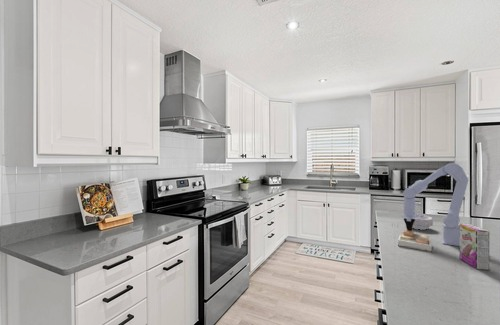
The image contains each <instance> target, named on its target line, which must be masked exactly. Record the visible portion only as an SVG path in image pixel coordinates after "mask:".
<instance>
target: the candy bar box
mask: <svg viewBox="0 0 500 325" xmlns="http://www.w3.org/2000/svg"><path fill="white" fill-rule="evenodd" d="M459 225H460V246H459V259H460V260H461V261H462V262H464V263H466V264H467V265H469V266H471V267H472V268H474V269H476V270H479V271H481V270H482V271H483V270H484V271H490V230H487V229H484V228H482V227H479V226H477V225H474V224H471V223H459Z"/></svg>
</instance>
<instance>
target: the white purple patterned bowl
mask: <svg viewBox="0 0 500 325" xmlns="http://www.w3.org/2000/svg"><path fill="white" fill-rule="evenodd" d="M413 219H415V222H414V223H413V226H412V229H413V228H414V229H413V230H418V229H420V230H421V231H427V230H429V228H430V227H433V226H434V225H433V224H434V222H433V217H431V216H428V215H424V214H423V215H422V214H415V218H413ZM426 229H427V230H426Z"/></svg>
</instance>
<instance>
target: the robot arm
mask: <svg viewBox="0 0 500 325" xmlns="http://www.w3.org/2000/svg"><path fill="white" fill-rule="evenodd" d="M447 175H449V176H451V177H452V178H453V179H454V180H455V181H456V183H455V186H454V191H453V194H452V197H451V201H450V205H449V209H448V211H447V214H446V215H445V217H444V218H443V225H442V227H443V228H442V229H443V230H442V239H441V242H442V244H444V245H451V246H457V247H460V227H459V225H460V221H461V220H460V213H461V208H462V205H463V201H464V198H465V194H466V190H467V186H468V182H469V178H468V176H467V174H466V172H465V170H464V169H463V167H462V166H460V165H459V164H458V163H456V162H455V163H454V162H449V163H447V164H446V165H445V166H444V165H443V166H441V167H439V168H438V169H437V170H434V172H432V173H431V174H430V175H428V176H427V177H425V179H423V180H422V179H418V180H416V181H414V183H413V184H412V185H409V186H408V188H405V189H404V190H403V192H402V195H403V214H401V217H404V218H403V221H404V223H405V228H406V230H409V231H413V228H412V226H413V223H414V222H415V219H413V218H415V215H416V196H417V195H419V194H420V193H422V192H423V191H425V190H427V188H428V185H429V184H430V183H432V182H434V181H435V180H436V179H438V178H440V177H442V176H447Z"/></svg>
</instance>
